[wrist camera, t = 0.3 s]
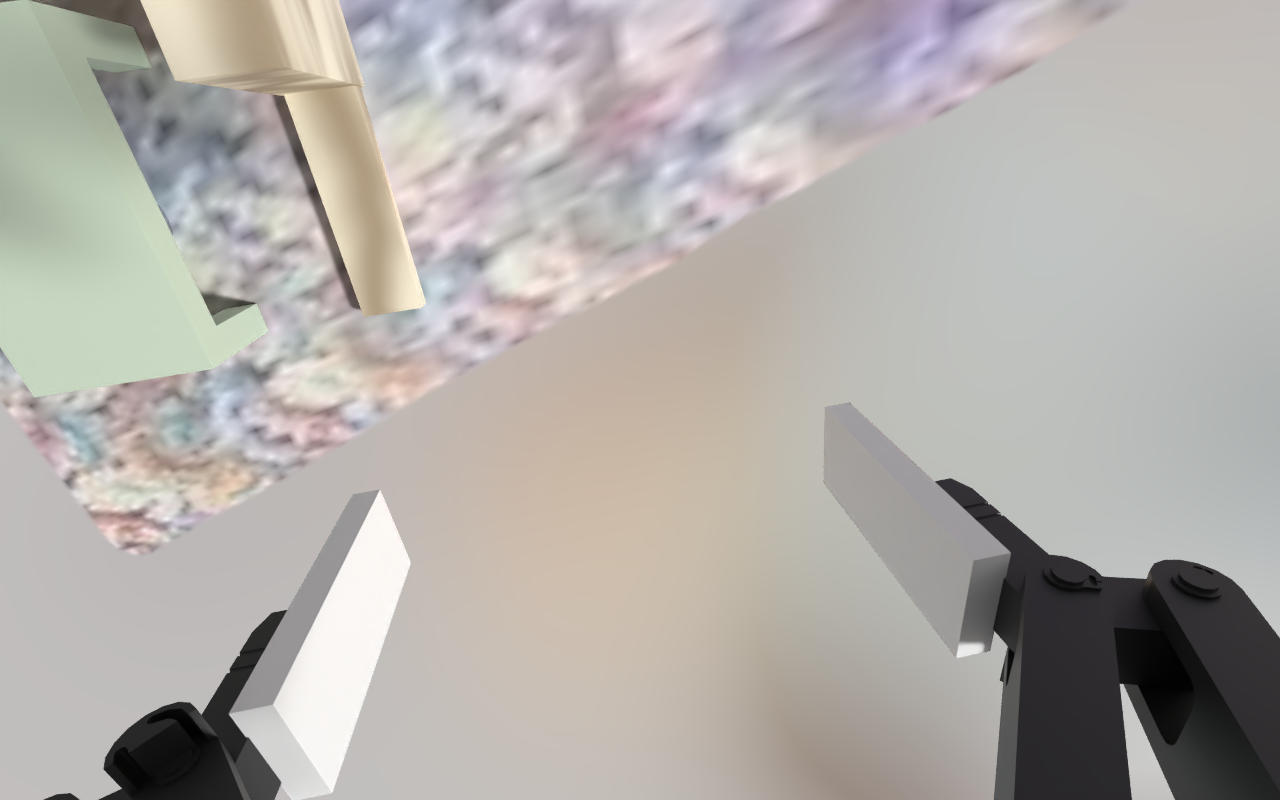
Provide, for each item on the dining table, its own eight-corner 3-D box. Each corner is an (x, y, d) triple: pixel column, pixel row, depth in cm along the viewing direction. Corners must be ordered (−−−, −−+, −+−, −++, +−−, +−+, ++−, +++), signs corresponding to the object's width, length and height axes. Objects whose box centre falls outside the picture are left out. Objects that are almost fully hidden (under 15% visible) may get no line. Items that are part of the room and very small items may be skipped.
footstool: (-58, 49, 30) (-217, 27, 24) (133, 26, 31) (25, -1, 25) (120, 354, 38) (34, 397, 32) (269, 330, 39) (213, 368, 33)
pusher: (365, 312, 39) (300, 371, 29) (256, 6, 31) (117, -53, 21) (429, 302, 40) (386, 357, 30) (337, -4, 32) (237, -66, 22)
